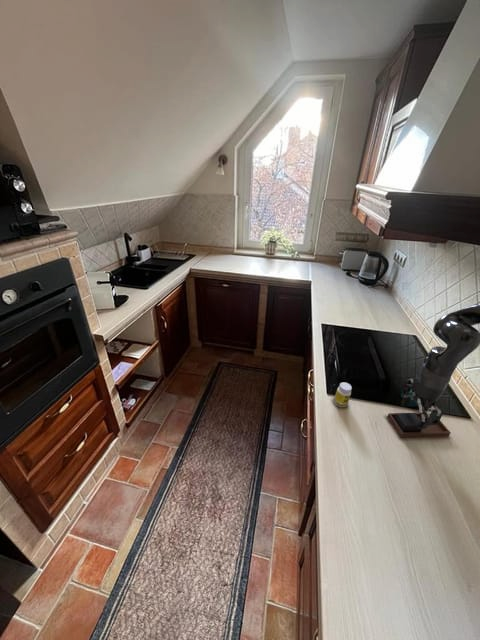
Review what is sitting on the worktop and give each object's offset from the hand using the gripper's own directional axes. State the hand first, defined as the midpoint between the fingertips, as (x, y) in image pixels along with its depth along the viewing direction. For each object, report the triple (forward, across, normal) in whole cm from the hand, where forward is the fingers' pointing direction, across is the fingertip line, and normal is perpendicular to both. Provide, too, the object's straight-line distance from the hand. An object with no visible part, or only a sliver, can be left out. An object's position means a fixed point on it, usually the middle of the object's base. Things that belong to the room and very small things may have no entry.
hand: (412, 416), depth 83 cm
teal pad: (+6, +11, -10) cm, 16 cm away
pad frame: (+5, 0, -4) cm, 6 cm away
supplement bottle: (+5, +11, +18) cm, 22 cm away
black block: (+5, 0, 0) cm, 5 cm away
